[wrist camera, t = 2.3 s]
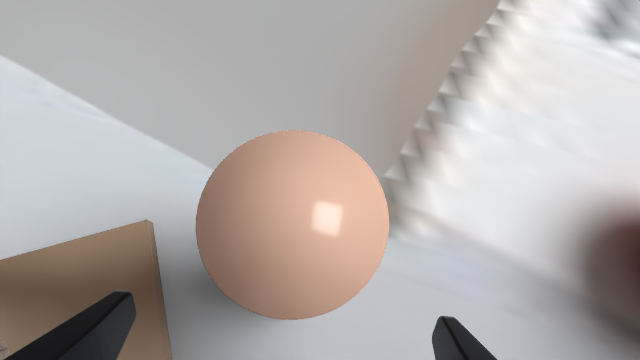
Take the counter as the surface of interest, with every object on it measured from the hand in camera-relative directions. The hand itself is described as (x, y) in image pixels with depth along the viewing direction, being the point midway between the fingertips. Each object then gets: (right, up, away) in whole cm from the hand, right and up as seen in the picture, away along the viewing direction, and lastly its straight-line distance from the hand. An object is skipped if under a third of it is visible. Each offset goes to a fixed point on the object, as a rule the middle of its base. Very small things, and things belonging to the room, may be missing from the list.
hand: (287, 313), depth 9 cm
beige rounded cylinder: (0, -1, +10) cm, 10 cm away
